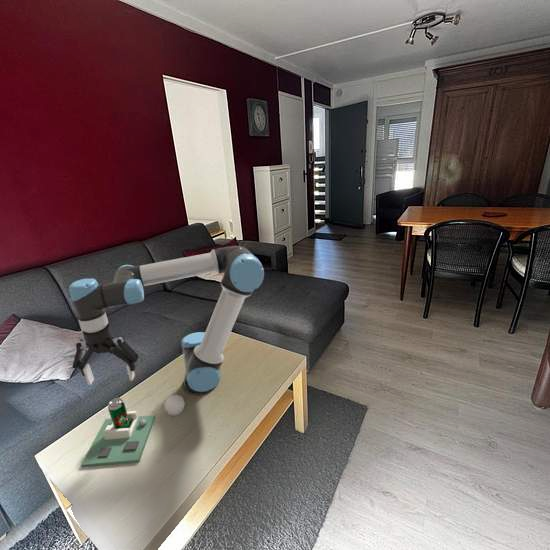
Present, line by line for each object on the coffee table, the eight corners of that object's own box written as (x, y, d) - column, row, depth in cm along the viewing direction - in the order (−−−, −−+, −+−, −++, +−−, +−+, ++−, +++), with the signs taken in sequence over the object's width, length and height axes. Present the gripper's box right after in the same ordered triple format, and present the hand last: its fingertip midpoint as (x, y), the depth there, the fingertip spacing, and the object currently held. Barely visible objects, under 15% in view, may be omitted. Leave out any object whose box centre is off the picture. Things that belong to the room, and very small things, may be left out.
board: (155, 417, 115) (153, 408, 113) (139, 462, 98) (136, 452, 96) (106, 421, 114) (103, 411, 112) (81, 467, 97) (77, 457, 95)
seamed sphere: (188, 405, 120) (185, 390, 117) (181, 420, 113) (179, 405, 110) (164, 404, 121) (160, 389, 118) (156, 419, 114) (152, 404, 111)
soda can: (118, 422, 111) (110, 397, 107) (132, 421, 112) (125, 396, 107) (112, 434, 107) (104, 408, 102) (127, 433, 107) (120, 407, 102)
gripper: (139, 317, 100) (152, 369, 108) (60, 324, 98) (79, 376, 106) (132, 329, 93) (146, 383, 101) (46, 337, 91) (67, 392, 99)
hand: (112, 380), depth 103 cm, fingers open, 13 cm apart
